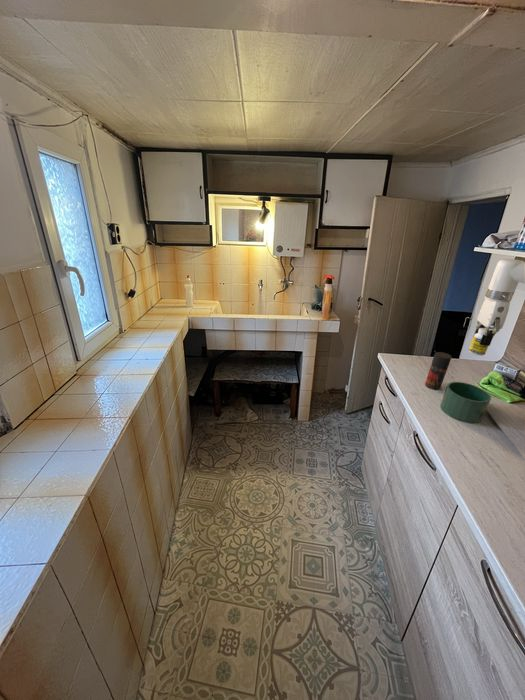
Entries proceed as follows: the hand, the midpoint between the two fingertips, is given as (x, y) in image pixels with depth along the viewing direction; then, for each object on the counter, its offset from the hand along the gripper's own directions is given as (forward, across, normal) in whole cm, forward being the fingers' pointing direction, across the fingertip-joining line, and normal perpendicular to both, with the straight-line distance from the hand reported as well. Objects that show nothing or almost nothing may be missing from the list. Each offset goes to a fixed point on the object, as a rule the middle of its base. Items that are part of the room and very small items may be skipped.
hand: (481, 341), depth 108 cm
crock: (+23, -15, +5) cm, 28 cm away
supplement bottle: (+5, 0, 0) cm, 5 cm away
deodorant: (+23, +2, +10) cm, 26 cm away
